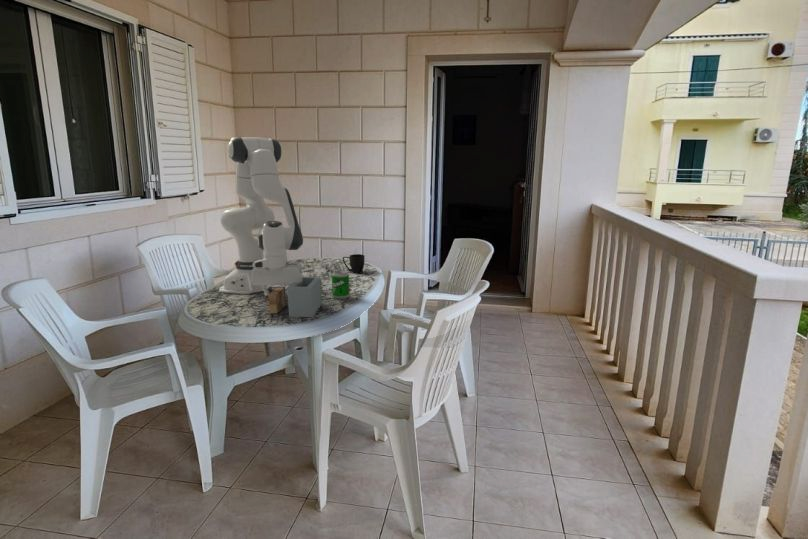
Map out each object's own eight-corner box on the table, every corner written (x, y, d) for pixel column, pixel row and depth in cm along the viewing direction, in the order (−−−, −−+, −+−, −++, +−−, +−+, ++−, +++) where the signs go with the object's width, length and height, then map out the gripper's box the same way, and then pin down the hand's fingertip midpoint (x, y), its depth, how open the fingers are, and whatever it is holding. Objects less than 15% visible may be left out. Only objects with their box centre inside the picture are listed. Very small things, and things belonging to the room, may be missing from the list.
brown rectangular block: (277, 314, 180) (276, 294, 178) (269, 313, 180) (268, 294, 178) (286, 304, 191) (284, 286, 189) (278, 304, 191) (277, 286, 189)
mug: (344, 270, 253) (343, 254, 251) (365, 270, 253) (365, 254, 251) (341, 274, 245) (341, 257, 243) (363, 274, 245) (363, 257, 243)
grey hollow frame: (289, 317, 175) (287, 288, 173) (300, 303, 193) (299, 276, 190) (312, 318, 175) (310, 288, 172) (321, 304, 193) (320, 276, 190)
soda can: (341, 294, 207) (340, 268, 205) (352, 297, 203) (352, 271, 200) (328, 297, 202) (328, 271, 199) (340, 301, 197) (339, 274, 194)
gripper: (303, 260, 184) (305, 292, 186) (253, 260, 184) (256, 293, 187) (299, 263, 177) (301, 297, 180) (248, 263, 178) (251, 297, 181)
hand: (278, 295), depth 184 cm, fingers open, 8 cm apart
